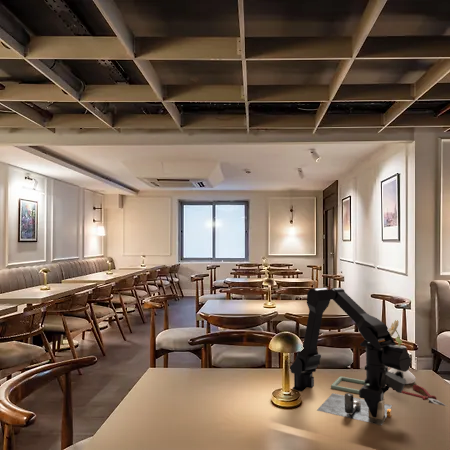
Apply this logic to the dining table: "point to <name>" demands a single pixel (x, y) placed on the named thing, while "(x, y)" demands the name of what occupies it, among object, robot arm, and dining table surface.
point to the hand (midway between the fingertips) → (376, 413)
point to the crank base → (337, 407)
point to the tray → (334, 385)
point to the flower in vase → (407, 375)
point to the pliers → (420, 389)
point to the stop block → (379, 410)
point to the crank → (351, 403)
